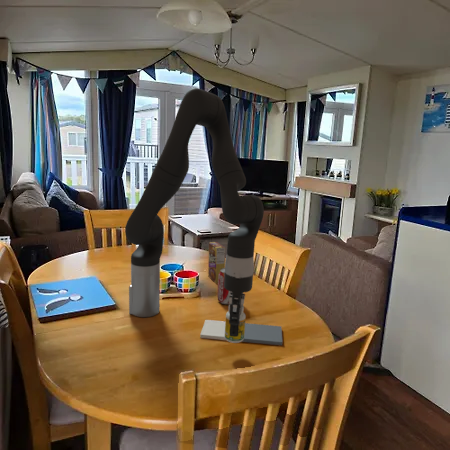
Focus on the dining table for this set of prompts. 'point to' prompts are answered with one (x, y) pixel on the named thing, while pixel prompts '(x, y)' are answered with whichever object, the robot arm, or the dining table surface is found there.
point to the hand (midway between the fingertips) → (234, 330)
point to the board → (252, 333)
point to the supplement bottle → (240, 330)
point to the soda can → (222, 289)
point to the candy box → (215, 260)
